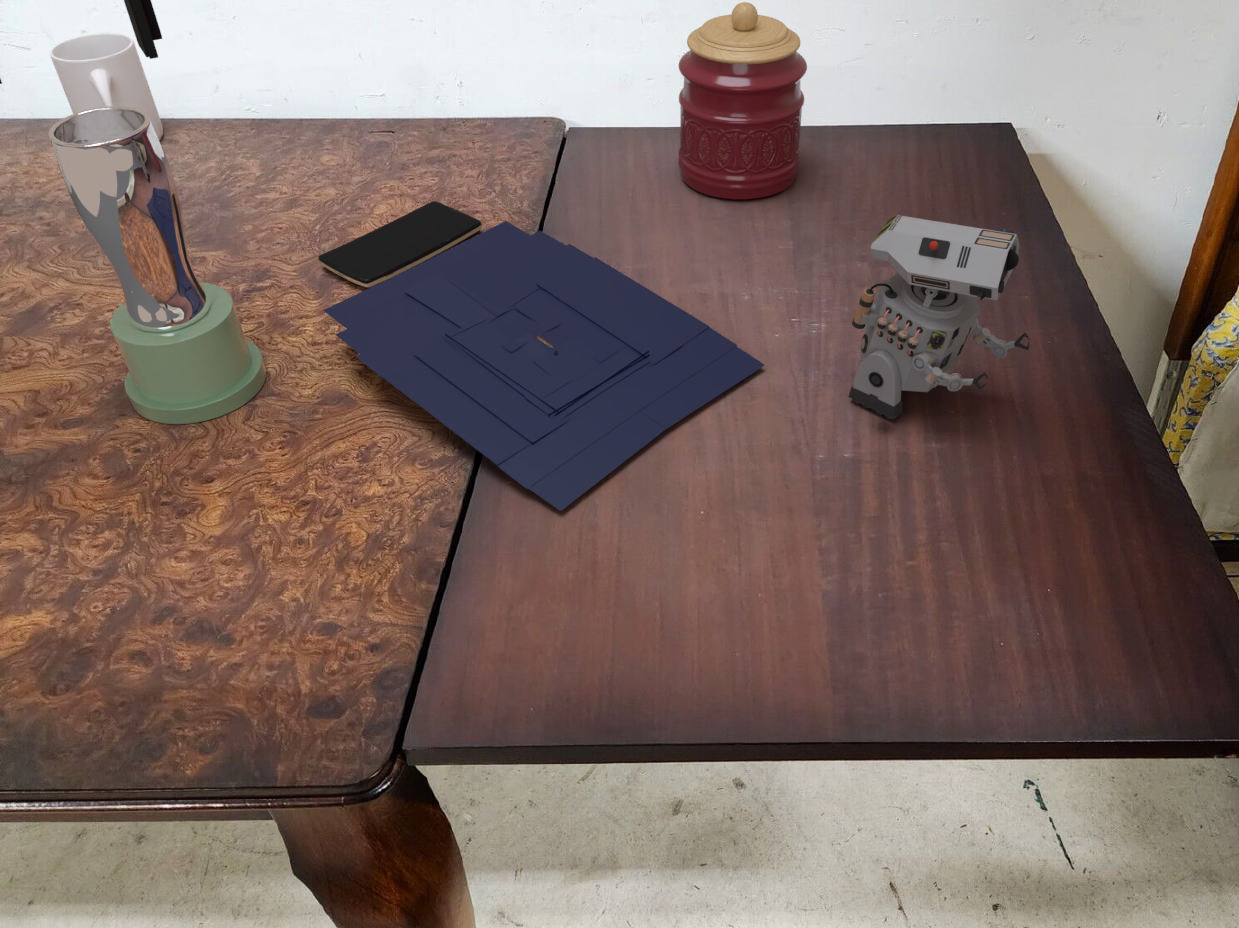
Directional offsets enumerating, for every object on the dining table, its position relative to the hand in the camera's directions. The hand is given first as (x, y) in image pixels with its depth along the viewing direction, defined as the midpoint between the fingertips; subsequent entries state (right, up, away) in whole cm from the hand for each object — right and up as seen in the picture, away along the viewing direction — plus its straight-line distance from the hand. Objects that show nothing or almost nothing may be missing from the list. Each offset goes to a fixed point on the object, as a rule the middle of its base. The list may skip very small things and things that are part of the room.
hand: (73, 65), depth 71 cm
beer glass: (+1, -14, +13) cm, 19 cm away
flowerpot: (+1, -19, +18) cm, 26 cm away
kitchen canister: (+47, +7, +45) cm, 66 cm away
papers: (+29, -17, +19) cm, 39 cm away
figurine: (+60, -21, +15) cm, 66 cm away
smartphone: (+14, -4, +34) cm, 36 cm away
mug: (-23, +12, +52) cm, 58 cm away
